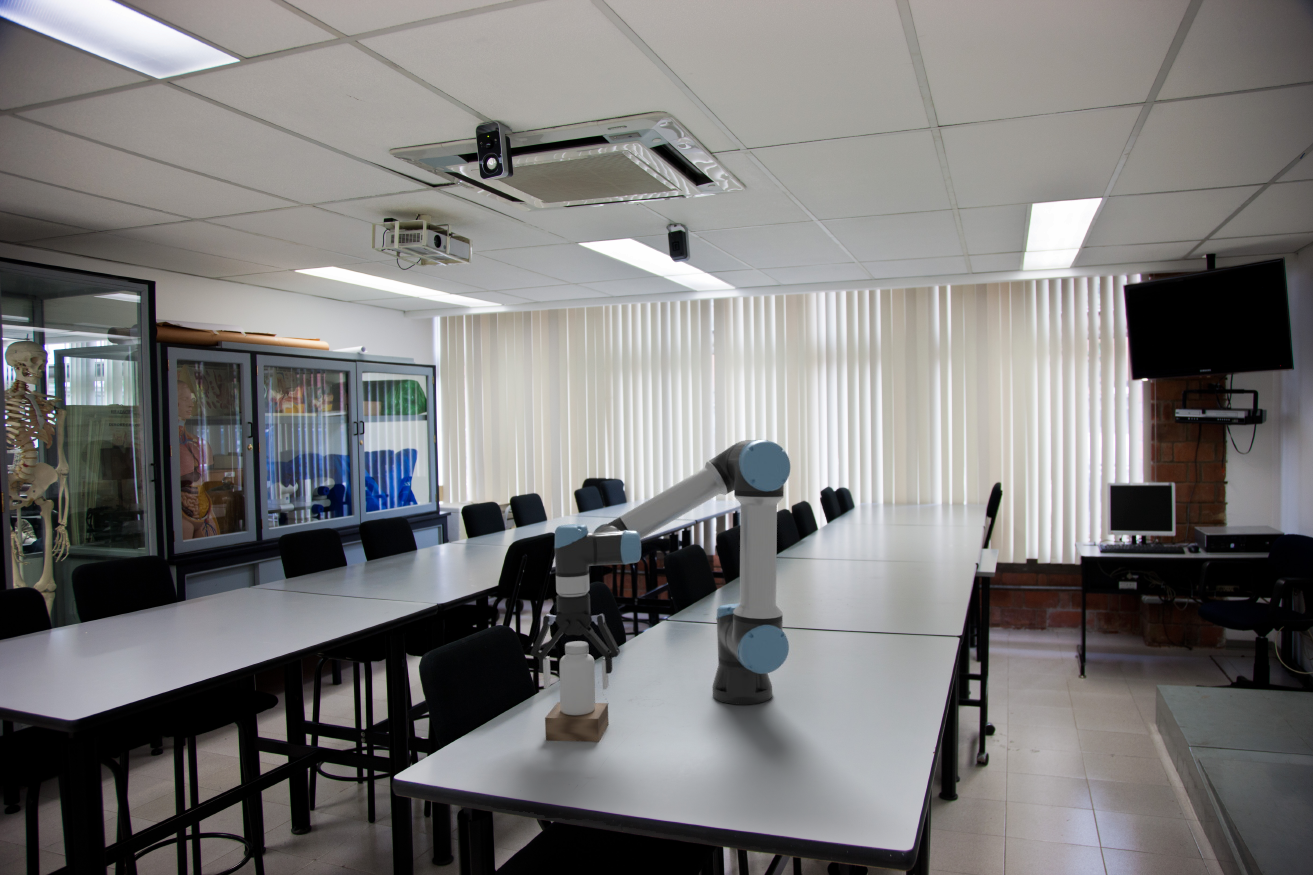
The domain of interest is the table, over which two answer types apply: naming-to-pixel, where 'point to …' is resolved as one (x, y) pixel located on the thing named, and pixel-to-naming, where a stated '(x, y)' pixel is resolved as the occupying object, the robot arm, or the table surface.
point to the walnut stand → (576, 724)
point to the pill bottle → (577, 680)
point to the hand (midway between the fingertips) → (576, 687)
